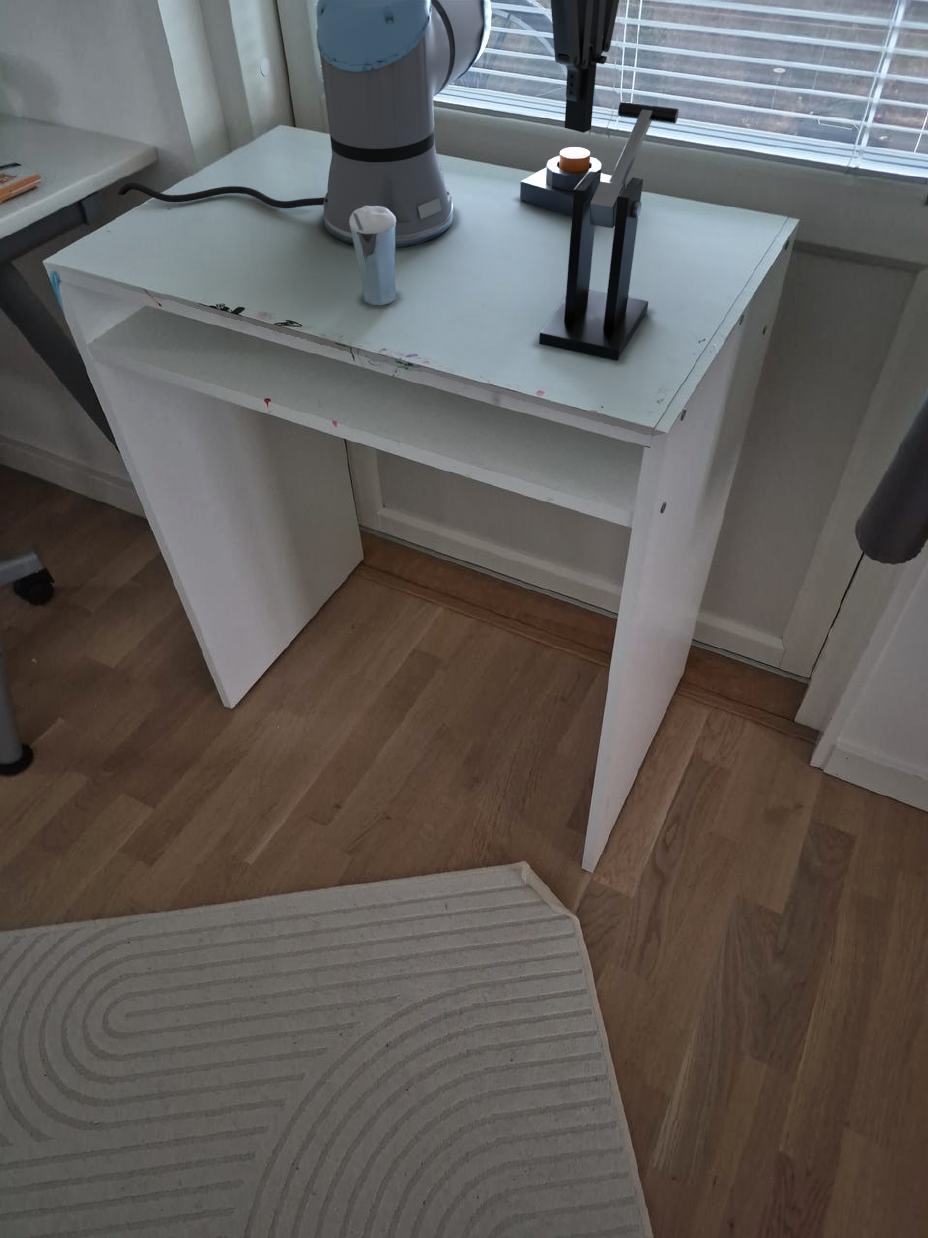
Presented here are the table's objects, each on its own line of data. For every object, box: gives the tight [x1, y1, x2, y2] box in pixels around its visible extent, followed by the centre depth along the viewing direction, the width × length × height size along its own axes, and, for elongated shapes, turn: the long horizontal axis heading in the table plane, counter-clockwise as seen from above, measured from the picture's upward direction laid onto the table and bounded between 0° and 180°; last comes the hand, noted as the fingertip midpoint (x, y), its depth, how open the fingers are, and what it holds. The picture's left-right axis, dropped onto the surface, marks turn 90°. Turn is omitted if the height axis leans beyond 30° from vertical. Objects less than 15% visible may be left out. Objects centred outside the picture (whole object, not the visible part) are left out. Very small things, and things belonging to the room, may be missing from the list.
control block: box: [519, 155, 627, 217], centre depth 107 cm, size 10×8×4 cm
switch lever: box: [590, 101, 680, 229], centre depth 81 cm, size 14×6×2 cm, turn 156°
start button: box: [559, 146, 591, 172], centre depth 105 cm, size 4×4×2 cm
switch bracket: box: [538, 171, 649, 362], centre depth 83 cm, size 10×8×14 cm
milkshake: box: [349, 206, 396, 306], centre depth 89 cm, size 4×5×10 cm
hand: (577, 127), depth 102 cm, fingers closed
